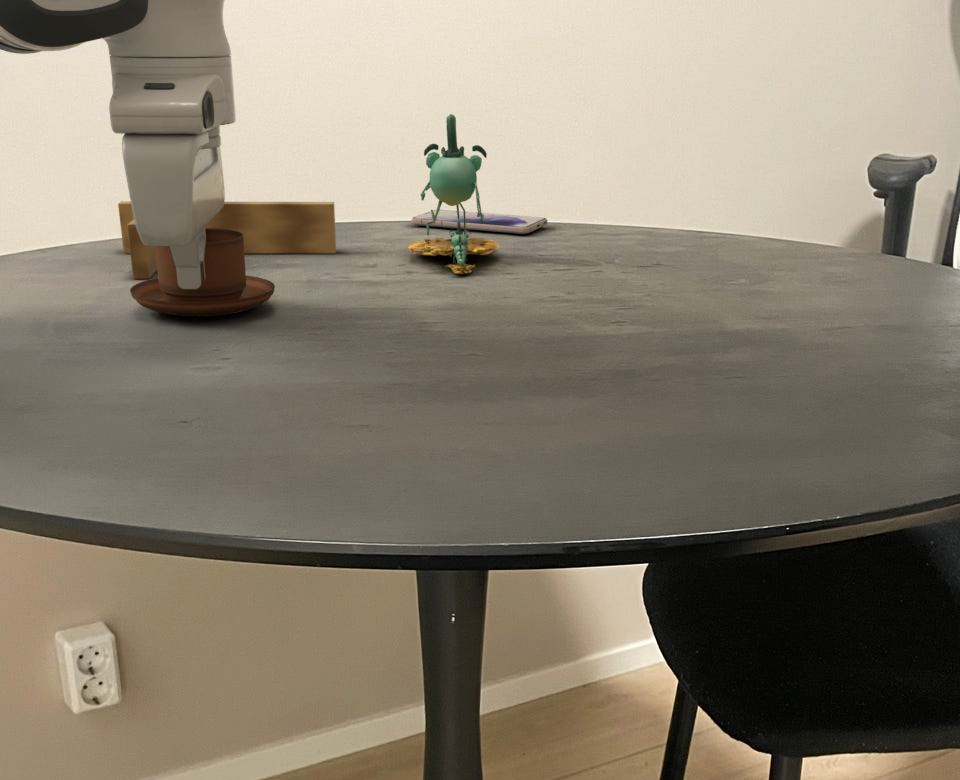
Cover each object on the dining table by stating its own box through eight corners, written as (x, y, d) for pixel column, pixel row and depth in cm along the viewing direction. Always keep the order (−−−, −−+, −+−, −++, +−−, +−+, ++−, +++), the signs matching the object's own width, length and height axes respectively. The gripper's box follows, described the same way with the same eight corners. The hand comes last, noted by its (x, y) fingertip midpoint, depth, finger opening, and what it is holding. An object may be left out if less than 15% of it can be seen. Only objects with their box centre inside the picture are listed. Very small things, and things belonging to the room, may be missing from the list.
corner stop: (95, 279, 118) (88, 224, 116) (126, 251, 131) (120, 201, 129) (329, 279, 119) (327, 224, 117) (336, 251, 133) (334, 201, 130)
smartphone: (527, 227, 142) (409, 218, 147) (526, 236, 142) (409, 226, 148) (549, 217, 148) (435, 208, 153) (549, 225, 148) (435, 216, 153)
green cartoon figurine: (386, 274, 122) (384, 109, 116) (422, 262, 138) (421, 117, 133) (484, 277, 120) (486, 110, 115) (508, 264, 137) (511, 118, 132)
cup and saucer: (107, 307, 107) (98, 232, 104) (229, 290, 114) (224, 219, 112) (176, 333, 99) (168, 253, 96) (303, 312, 106) (299, 237, 103)
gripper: (157, 89, 103) (174, 261, 109) (102, 108, 85) (127, 313, 91) (234, 90, 103) (247, 261, 110) (196, 108, 85) (214, 313, 91)
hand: (192, 286), depth 100 cm, fingers closed
